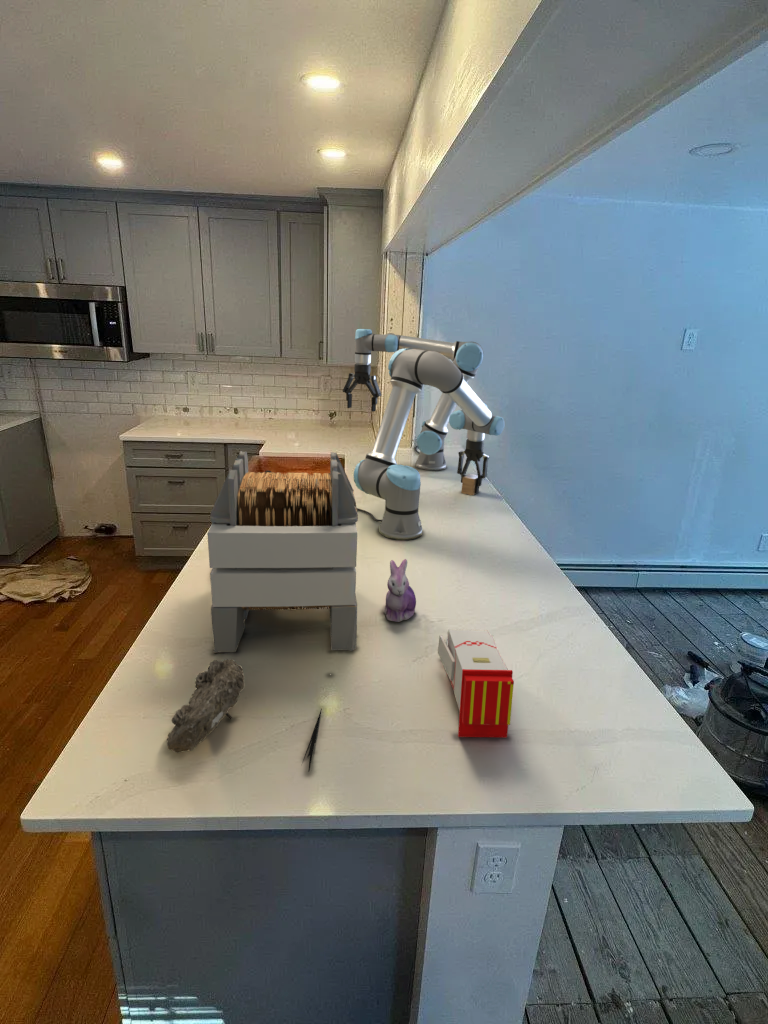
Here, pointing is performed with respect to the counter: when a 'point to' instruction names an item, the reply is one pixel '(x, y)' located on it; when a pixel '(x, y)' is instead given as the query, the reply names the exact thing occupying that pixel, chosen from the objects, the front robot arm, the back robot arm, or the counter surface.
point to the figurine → (399, 594)
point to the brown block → (469, 484)
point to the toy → (478, 682)
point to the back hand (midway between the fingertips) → (361, 409)
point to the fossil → (206, 705)
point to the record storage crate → (283, 549)
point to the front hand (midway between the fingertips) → (470, 491)
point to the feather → (313, 740)
